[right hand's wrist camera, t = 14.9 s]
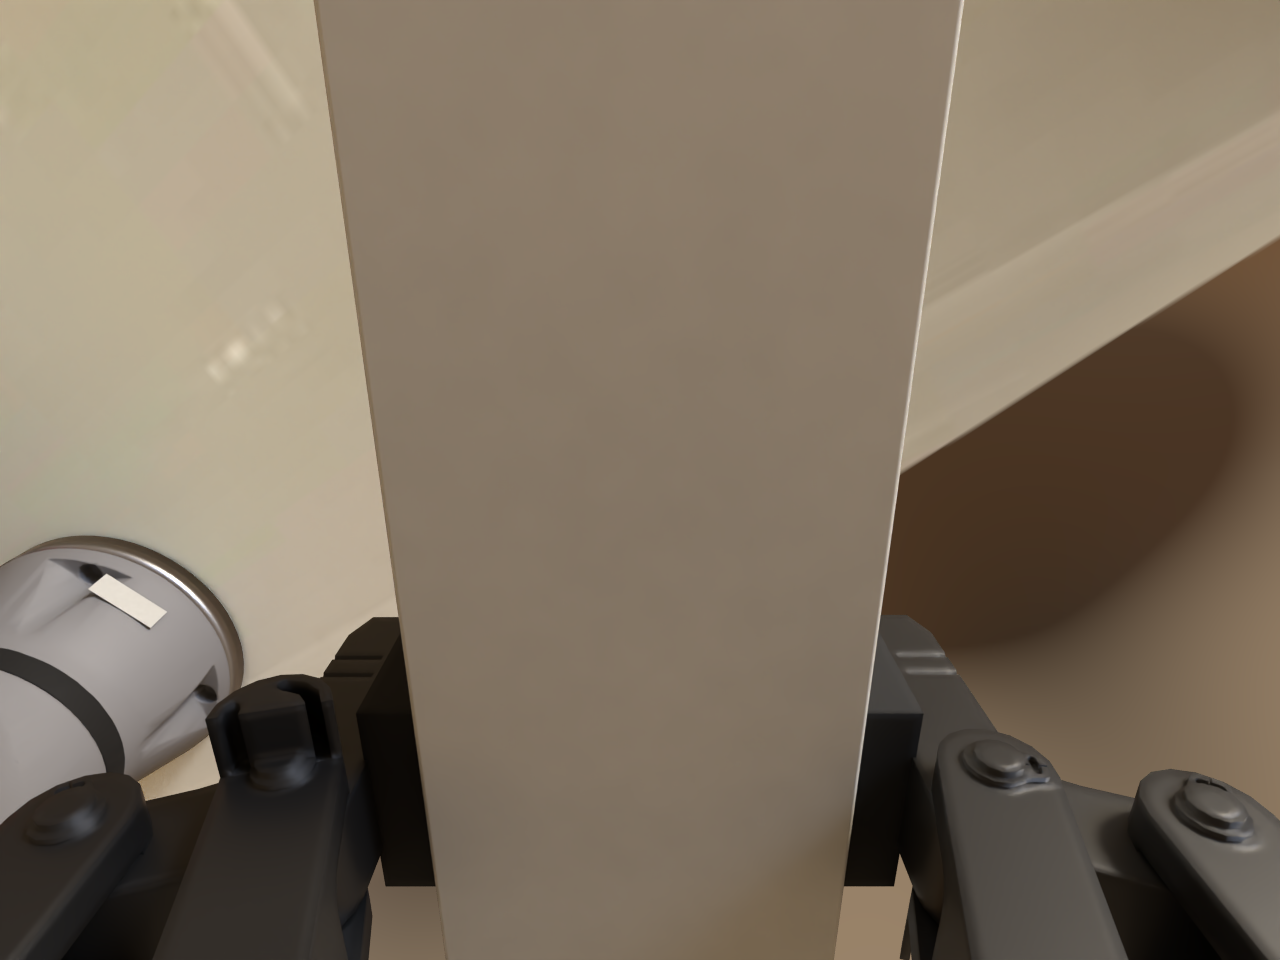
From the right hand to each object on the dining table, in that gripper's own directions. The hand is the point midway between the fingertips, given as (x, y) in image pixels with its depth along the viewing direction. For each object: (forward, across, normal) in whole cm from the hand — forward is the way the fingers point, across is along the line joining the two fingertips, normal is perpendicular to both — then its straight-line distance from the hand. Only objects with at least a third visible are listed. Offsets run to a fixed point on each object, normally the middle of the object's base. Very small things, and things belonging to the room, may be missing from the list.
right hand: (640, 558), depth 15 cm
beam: (+1, 0, -23) cm, 23 cm away
